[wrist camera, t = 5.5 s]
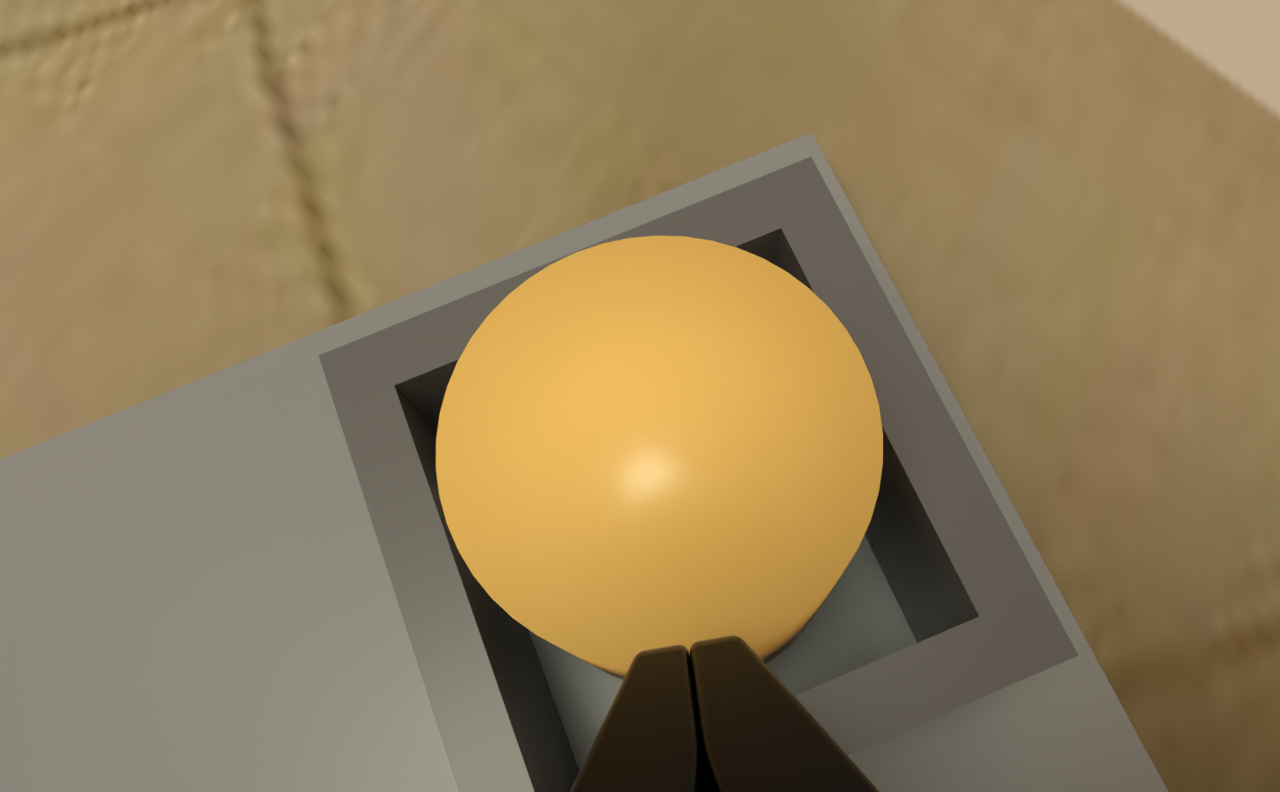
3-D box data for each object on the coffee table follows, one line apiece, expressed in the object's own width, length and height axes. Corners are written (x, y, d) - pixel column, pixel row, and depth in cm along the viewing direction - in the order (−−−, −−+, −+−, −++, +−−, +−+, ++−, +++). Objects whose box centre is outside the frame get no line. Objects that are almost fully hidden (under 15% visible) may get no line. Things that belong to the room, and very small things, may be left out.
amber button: (896, 609, 14) (965, 557, 10) (584, 744, 13) (522, 745, 9) (757, 324, 15) (768, 174, 11) (474, 440, 15) (380, 331, 11)
